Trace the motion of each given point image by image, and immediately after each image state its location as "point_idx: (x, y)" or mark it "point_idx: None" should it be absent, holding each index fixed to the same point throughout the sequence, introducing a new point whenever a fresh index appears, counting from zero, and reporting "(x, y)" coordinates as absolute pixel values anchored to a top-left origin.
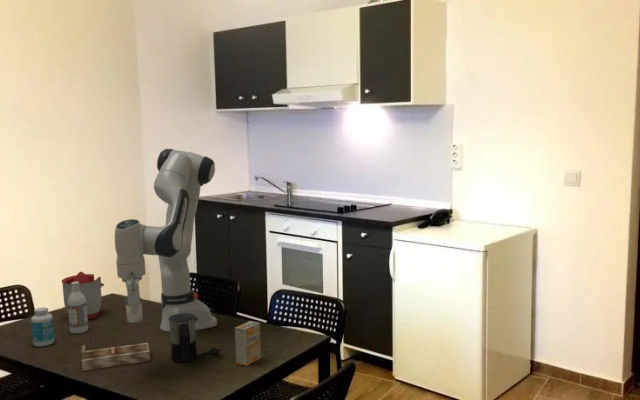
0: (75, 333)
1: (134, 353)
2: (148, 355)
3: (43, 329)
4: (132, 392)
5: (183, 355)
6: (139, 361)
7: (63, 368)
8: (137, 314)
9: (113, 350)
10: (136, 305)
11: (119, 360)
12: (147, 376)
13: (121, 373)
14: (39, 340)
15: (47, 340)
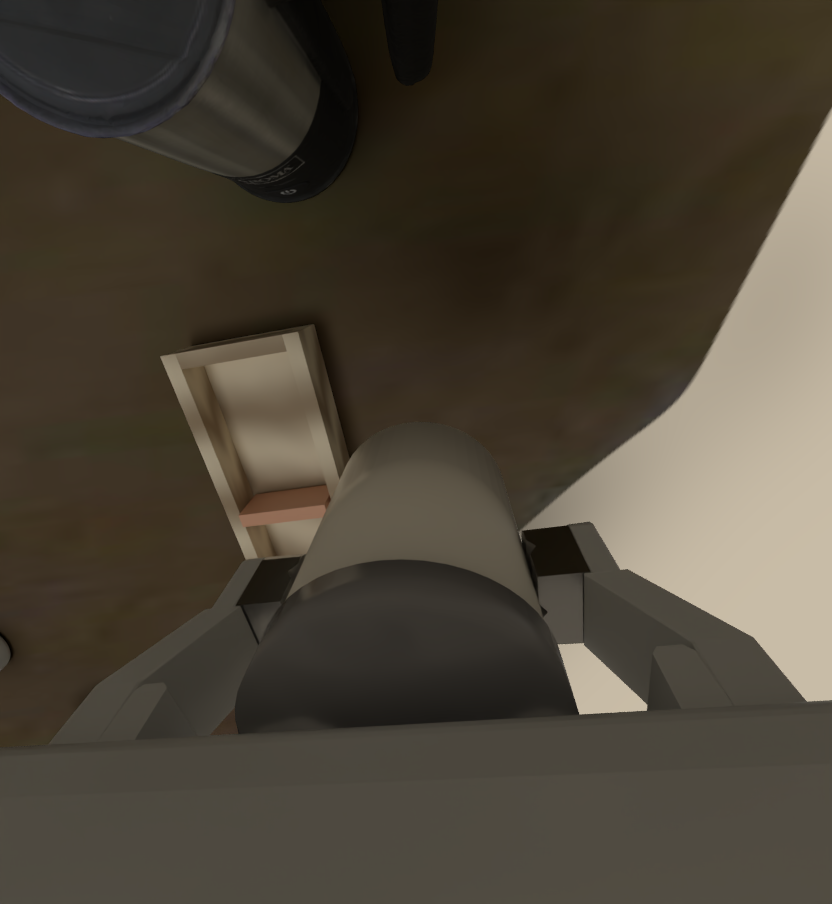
0: (9, 649)
1: (320, 410)
2: (306, 335)
3: None
4: (680, 364)
5: (431, 61)
6: (325, 376)
7: None
8: (508, 510)
9: (290, 512)
10: (718, 638)
11: (344, 467)
12: (512, 314)
13: None
14: None
15: None
